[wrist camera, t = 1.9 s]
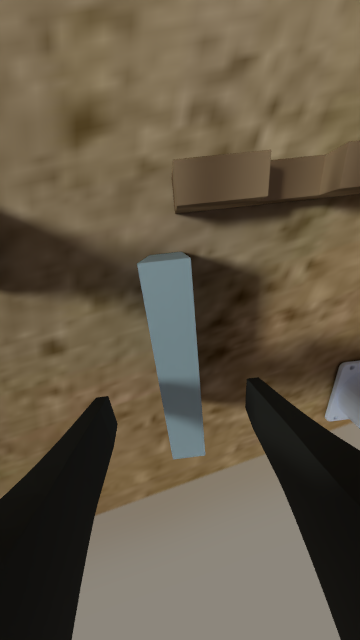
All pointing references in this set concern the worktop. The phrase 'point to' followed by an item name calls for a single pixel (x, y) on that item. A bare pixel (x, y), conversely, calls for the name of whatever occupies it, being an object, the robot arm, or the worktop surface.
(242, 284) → the worktop surface
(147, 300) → the slate-blue slotted board
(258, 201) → the walnut slotted board
